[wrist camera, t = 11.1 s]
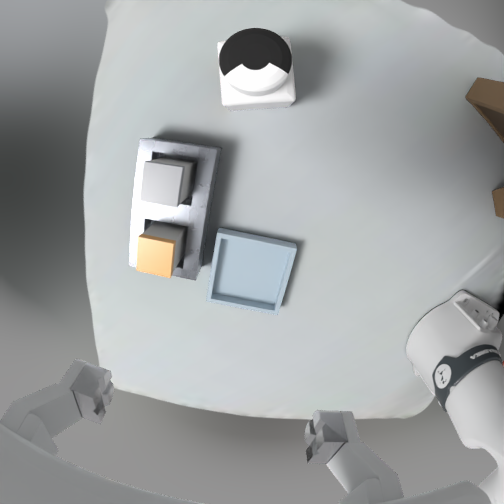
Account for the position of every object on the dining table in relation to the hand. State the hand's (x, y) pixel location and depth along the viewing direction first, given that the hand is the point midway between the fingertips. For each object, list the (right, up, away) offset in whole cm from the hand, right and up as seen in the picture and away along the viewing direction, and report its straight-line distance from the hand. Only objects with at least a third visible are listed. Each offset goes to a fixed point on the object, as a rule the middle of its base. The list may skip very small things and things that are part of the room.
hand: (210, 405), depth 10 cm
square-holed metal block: (-8, +12, +27) cm, 30 cm away
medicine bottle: (+2, +26, +21) cm, 33 cm away
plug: (-9, +8, +27) cm, 30 cm away
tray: (+1, +3, +30) cm, 30 cm away
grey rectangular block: (-7, +15, +24) cm, 30 cm away
